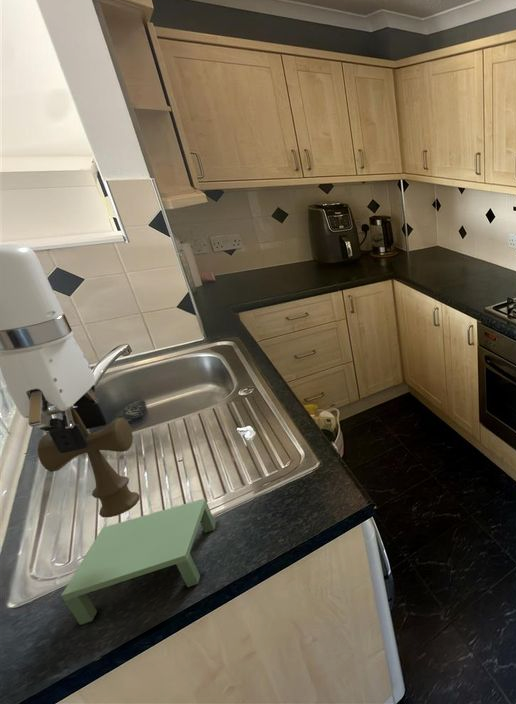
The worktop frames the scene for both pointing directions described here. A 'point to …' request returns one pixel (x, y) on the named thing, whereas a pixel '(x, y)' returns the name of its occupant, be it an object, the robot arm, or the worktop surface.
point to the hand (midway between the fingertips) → (85, 436)
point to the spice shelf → (138, 553)
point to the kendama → (97, 463)
